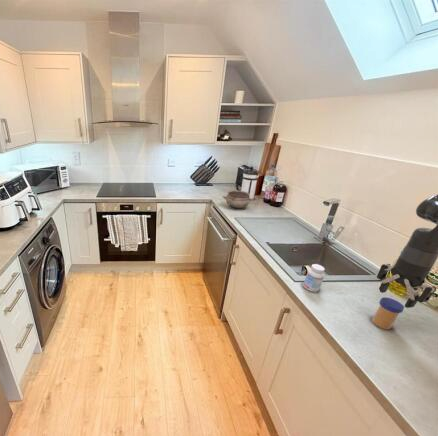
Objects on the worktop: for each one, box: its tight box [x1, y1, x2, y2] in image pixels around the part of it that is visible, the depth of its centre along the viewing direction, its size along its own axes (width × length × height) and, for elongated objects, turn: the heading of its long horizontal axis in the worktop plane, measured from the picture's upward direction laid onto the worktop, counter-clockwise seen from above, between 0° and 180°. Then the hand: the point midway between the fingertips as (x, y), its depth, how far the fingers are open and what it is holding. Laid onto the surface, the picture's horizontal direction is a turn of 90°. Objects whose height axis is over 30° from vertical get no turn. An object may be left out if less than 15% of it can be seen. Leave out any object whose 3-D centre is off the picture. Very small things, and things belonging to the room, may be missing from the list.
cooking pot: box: [222, 189, 255, 210], centre depth 196 cm, size 25×19×12 cm
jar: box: [371, 304, 400, 330], centre depth 86 cm, size 5×5×9 cm
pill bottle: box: [302, 263, 326, 293], centre depth 103 cm, size 6×6×11 cm
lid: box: [379, 297, 405, 314], centre depth 84 cm, size 6×6×2 cm
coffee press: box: [235, 166, 260, 201], centre depth 213 cm, size 17×16×30 cm
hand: (394, 299), depth 83 cm, fingers open, 7 cm apart
